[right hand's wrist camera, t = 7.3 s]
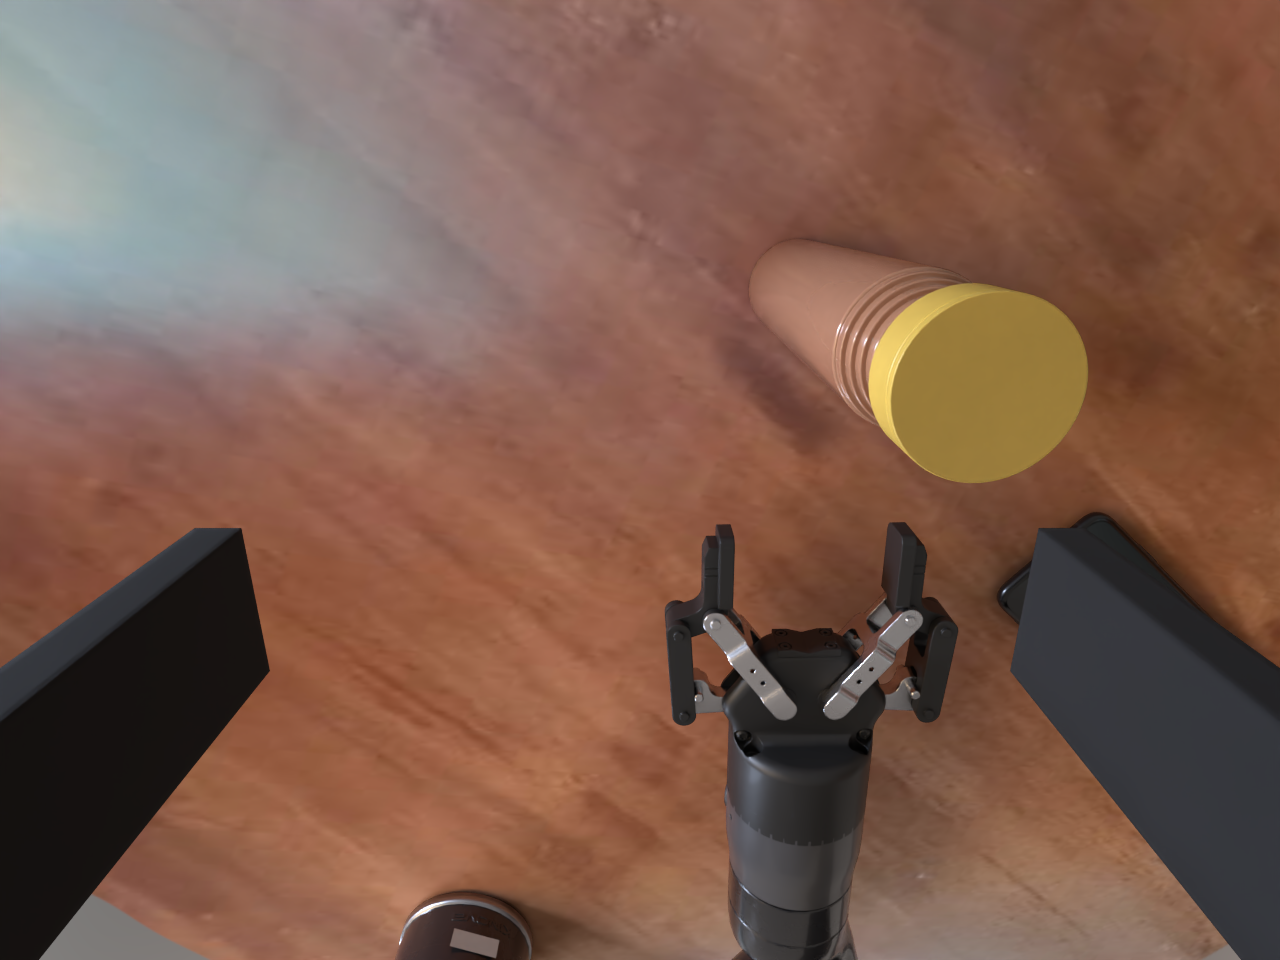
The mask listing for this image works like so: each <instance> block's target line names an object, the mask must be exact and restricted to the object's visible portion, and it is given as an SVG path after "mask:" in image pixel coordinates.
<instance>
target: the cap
mask: <svg viewBox="0 0 1280 960" xmlns="http://www.w3.org/2000/svg"><path fill="white" fill-rule="evenodd" d="M1087 383H1088V362H1087V355H1086V351H1085V347H1084V344H1083V341H1082V339H1081V337H1080V334H1079V332H1078V331H1077V329H1076V328H1075V326H1074V324H1073V323H1072V322H1071V321H1070V319H1069V318H1068V317H1067V316H1066V315H1065V314H1064V313H1063V312H1062V311H1061V310H1060V309H1058V308H1057V307H1056V306H1054V305H1053V304H1051V303H1049V302H1048V301H1046V300H1044V299H1042V298H1039V297H1037V296H1035V295H1031V294H1027V293H1023V292H1019V291H1015V290H1010V289H1006V288H1002V287H997V286H993V285H989V284H980V283H964V284H958V285H952V286H948V287H945V288H941V289H938V290H936V291H934V292H931V293H929V294H927V295H925V296H924V297H922V298H920V299H918V300H917V301H915V302H914V303H913V304H911V305H910V306H909V307H907V308H906V309H905V310H904V311H903V312H902V313H901V314H900V315H899V316H898V317H897V318H896V319H895V320H894V321H893V322H892V324H891V325H890V326H889V327H888V329H887V330H886V332H885V333H884V335H883V336H882V338H881V340H880V342H879V344H878V346H877V348H876V350H875V353H874V356H873V359H872V362H871V367H870V372H869V397H870V402H871V407H872V410H873V412H874V415H875V418H876V419H877V421H878V423H879V425H880V427H881V428H882V429H883V431H884V432H885V434H886V435H887V436H888V437H889V438H890V439H891V440H892V441H893V442H894V443H895V444H896V445H897V446H898V447H900V448H901V449H902V450H903V451H904V452H905V453H906V454H907V455H908V456H909V457H910V458H911V459H912V460H913V461H914V462H916V463H917V464H918V465H919V466H921V467H922V468H923V469H925V470H927V471H928V472H930V473H932V474H934V475H936V476H939V477H941V478H944V479H947V480H952V481H956V482H965V483H983V482H989V481H996V480H999V479H1003V478H1007V477H1009V476H1012V475H1014V474H1017V473H1019V472H1021V471H1023V470H1025V469H1027V468H1029V467H1031V466H1032V465H1034V464H1035V463H1037V462H1038V461H1040V460H1041V459H1042V458H1044V457H1045V456H1046V455H1047V454H1048V453H1050V452H1051V451H1052V450H1053V449H1054V448H1055V447H1056V446H1057V445H1058V444H1059V443H1060V442H1061V440H1062V439H1063V438H1064V437H1065V435H1066V434H1067V433H1068V431H1069V430H1070V428H1071V427H1072V425H1073V423H1074V422H1075V420H1076V418H1077V416H1078V414H1079V411H1080V409H1081V407H1082V404H1083V401H1084V397H1085V394H1086V388H1087Z"/></svg>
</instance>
